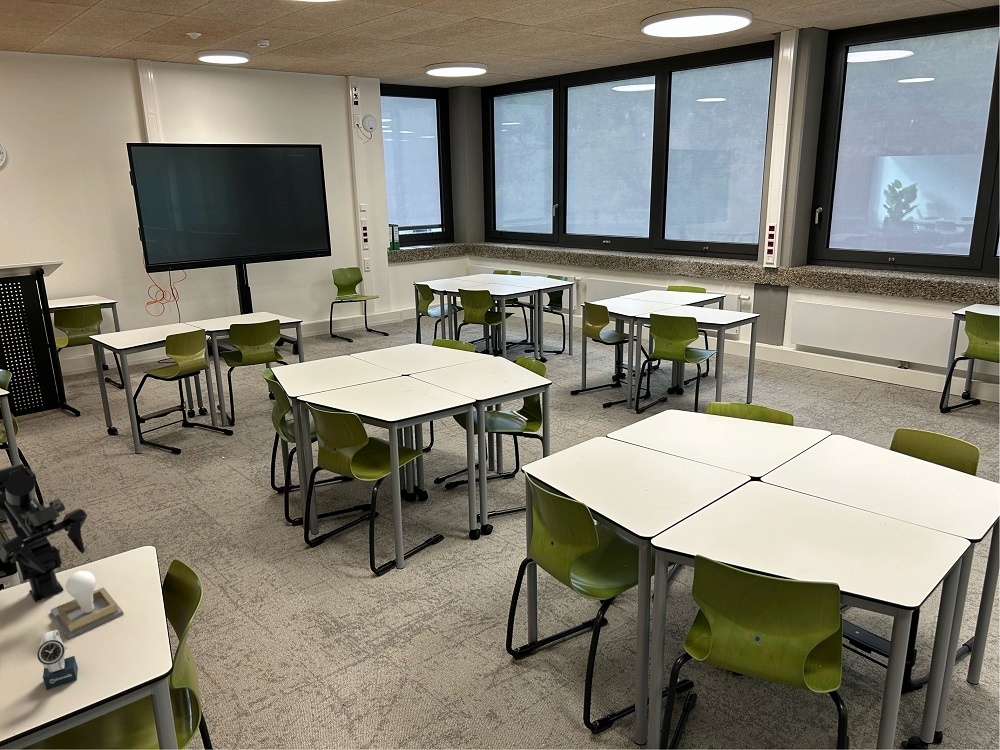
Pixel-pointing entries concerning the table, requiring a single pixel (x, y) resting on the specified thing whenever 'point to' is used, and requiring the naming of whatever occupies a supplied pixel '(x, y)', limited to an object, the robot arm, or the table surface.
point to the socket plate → (86, 614)
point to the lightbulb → (82, 589)
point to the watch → (56, 661)
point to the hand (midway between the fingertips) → (64, 562)
